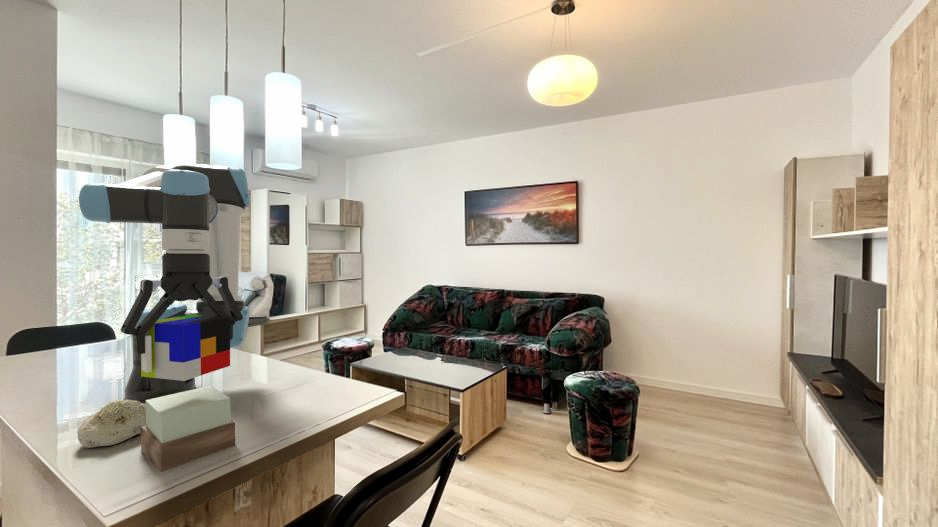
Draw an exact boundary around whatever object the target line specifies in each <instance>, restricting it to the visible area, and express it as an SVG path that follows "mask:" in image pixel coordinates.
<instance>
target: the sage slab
mask: <svg viewBox="0 0 938 527" xmlns="http://www.w3.org/2000/svg"><path fill="white" fill-rule="evenodd" d="M145 404H146V426H147V427H148V428H149V430H150V431H151V432H152V433H153V434H154V435H155V436H156V437H157V439H158V440H159V441H160V442H161V443H165V442H168V441H172V440H175V439H178V438H182V437H185V436H188V435H192V434H195V433H198V432H202V431H205V430H208V429H212V428H215V427H218V426H222V425H225V424H228V423H230V419H231V397H229V396H228V395H227V394H224V393H223V392H221V391H220V390H218V389H216V388H215V387H213V386H211V385H208V386H203V387H200V388H199V387H198V388H194V389H193V390H189V391H184V392H180V393H176V394H171V395H167V396H162V397H158V398H153V399H149V400H146V402H145Z"/></svg>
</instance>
